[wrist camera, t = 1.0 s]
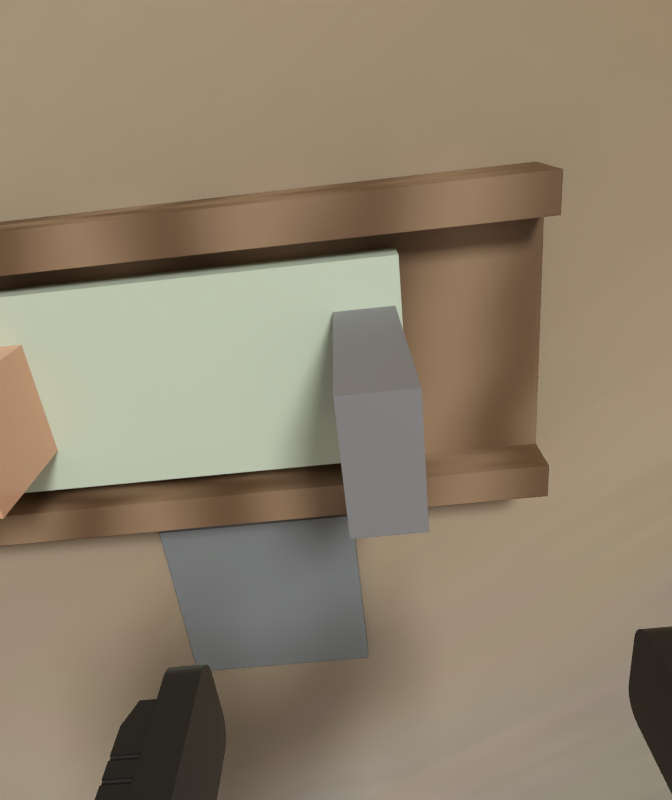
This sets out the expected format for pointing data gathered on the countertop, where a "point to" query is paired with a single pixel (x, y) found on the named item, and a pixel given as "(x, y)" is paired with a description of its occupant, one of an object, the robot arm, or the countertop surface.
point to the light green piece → (232, 378)
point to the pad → (269, 592)
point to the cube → (20, 428)
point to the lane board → (422, 324)
